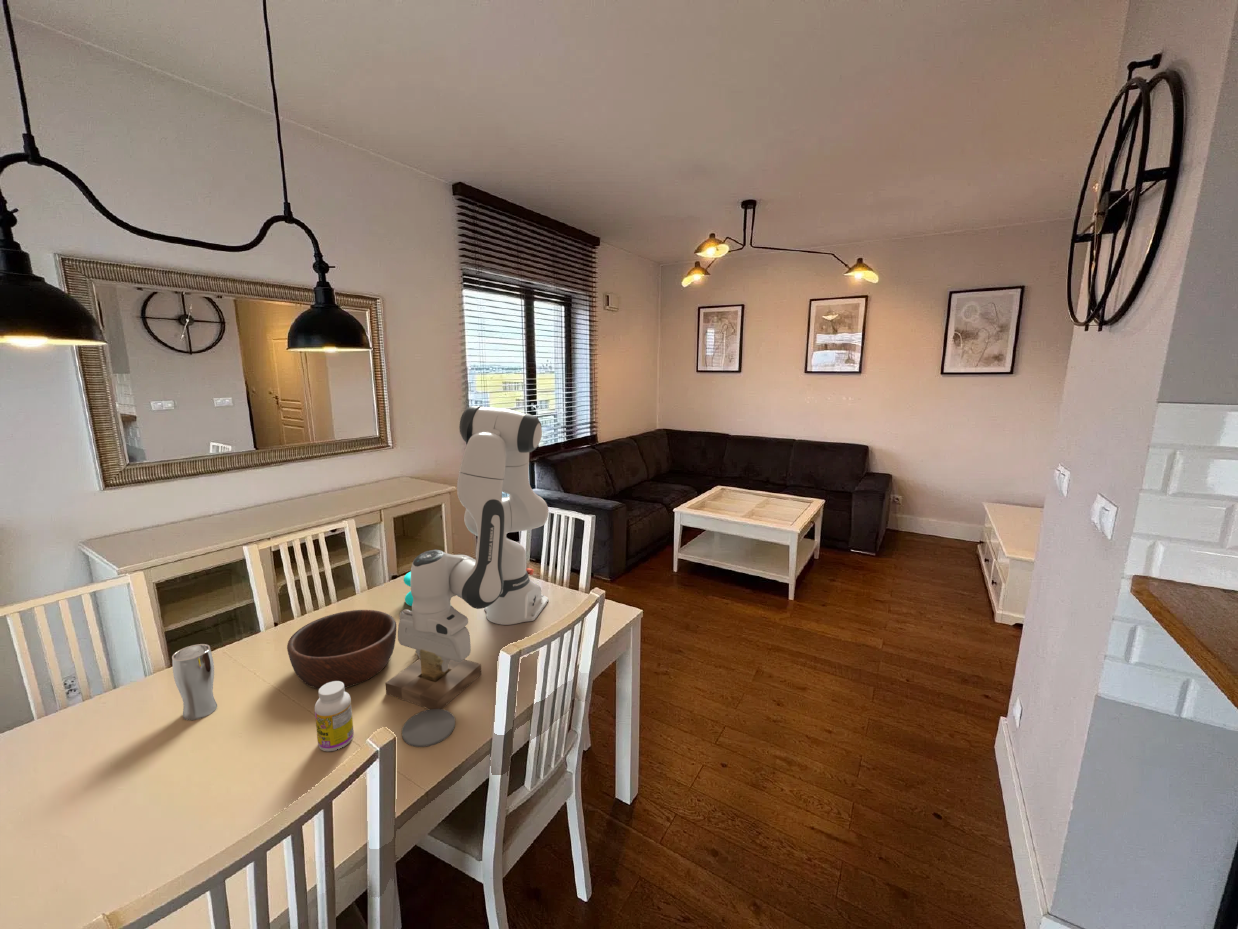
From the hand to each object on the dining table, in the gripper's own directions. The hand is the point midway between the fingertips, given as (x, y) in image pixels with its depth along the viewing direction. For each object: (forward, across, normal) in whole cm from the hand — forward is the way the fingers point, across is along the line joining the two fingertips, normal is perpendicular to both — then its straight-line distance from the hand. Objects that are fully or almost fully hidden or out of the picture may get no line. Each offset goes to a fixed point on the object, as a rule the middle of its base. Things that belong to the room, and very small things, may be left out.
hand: (434, 667), depth 127 cm
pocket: (+5, 0, 0) cm, 5 cm away
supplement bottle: (+5, -5, -24) cm, 25 cm away
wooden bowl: (+5, -26, -4) cm, 27 cm away
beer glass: (+5, -41, -30) cm, 51 cm away
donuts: (+5, -36, +33) cm, 49 cm away
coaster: (+5, +10, -13) cm, 17 cm away
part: (+5, 0, 0) cm, 5 cm away
